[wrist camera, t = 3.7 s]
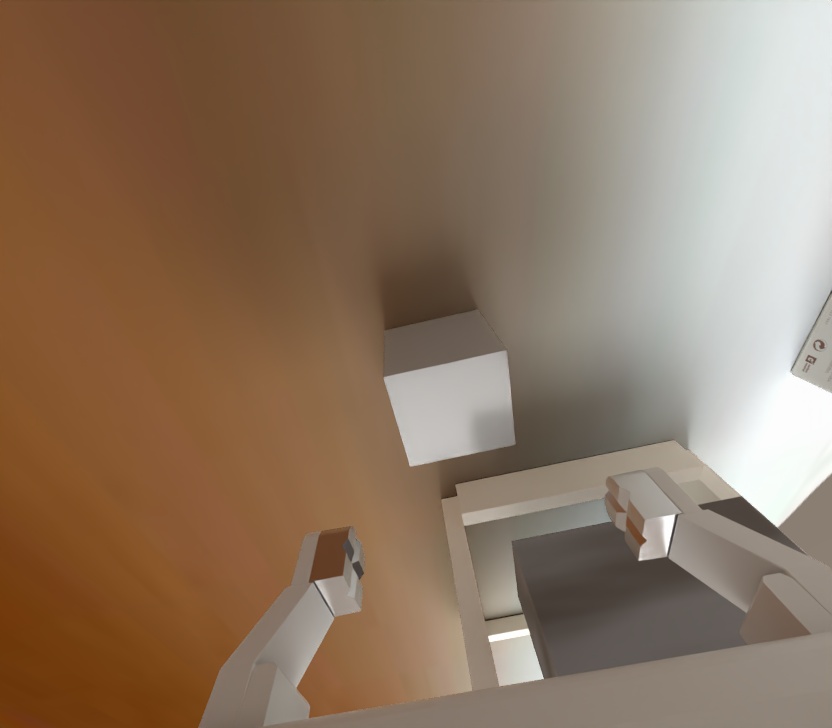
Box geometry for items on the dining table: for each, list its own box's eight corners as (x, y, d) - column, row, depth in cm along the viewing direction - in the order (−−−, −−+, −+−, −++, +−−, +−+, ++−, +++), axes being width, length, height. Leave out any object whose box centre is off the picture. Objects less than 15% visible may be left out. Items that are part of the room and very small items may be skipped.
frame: (438, 487, 24) (491, 821, 11) (691, 436, 23) (1045, 730, 11) (473, 629, 33) (523, 893, 21) (653, 596, 33) (813, 847, 20)
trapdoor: (481, 547, 16) (538, 770, 10) (773, 489, 16) (1021, 687, 10) (510, 703, 26) (549, 869, 20) (694, 670, 25) (793, 829, 19)
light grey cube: (384, 329, 18) (383, 377, 13) (477, 308, 18) (507, 350, 13) (405, 405, 20) (410, 466, 16) (487, 387, 20) (515, 444, 16)
